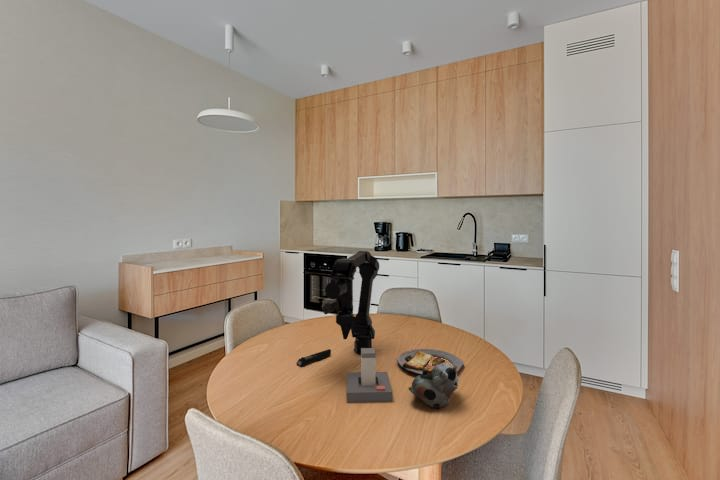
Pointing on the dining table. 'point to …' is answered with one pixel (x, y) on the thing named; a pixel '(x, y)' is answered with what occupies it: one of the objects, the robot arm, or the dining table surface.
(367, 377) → the grey rectangular block
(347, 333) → the robot arm
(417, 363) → the food plate
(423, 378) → the lucky cat figurine
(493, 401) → the dining table surface
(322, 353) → the electric trimmer
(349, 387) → the grey slotted slab
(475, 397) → the dining table surface
